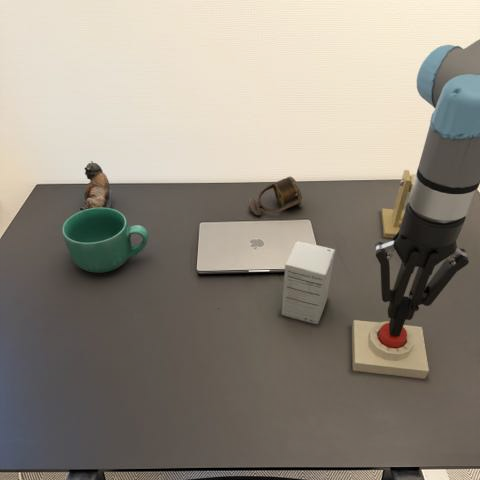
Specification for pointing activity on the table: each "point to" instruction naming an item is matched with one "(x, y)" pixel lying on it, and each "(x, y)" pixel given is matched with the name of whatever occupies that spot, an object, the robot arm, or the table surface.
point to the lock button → (391, 337)
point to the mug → (101, 239)
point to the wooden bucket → (279, 196)
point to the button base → (388, 351)
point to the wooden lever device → (396, 208)
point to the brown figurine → (96, 188)
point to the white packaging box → (307, 281)
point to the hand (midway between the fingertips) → (394, 329)
